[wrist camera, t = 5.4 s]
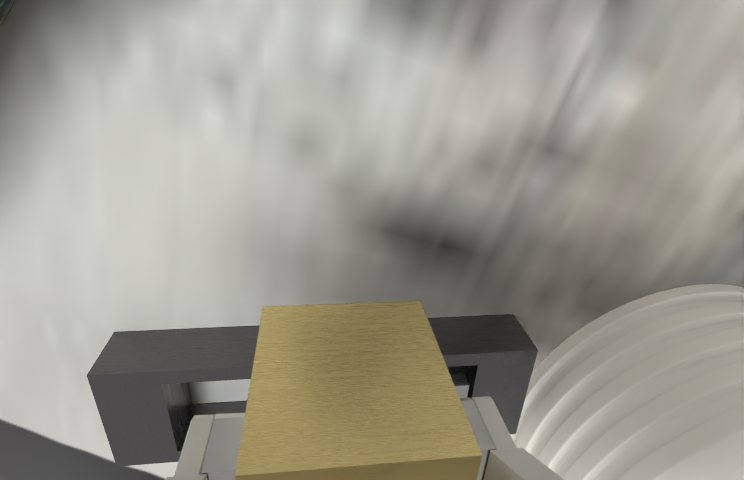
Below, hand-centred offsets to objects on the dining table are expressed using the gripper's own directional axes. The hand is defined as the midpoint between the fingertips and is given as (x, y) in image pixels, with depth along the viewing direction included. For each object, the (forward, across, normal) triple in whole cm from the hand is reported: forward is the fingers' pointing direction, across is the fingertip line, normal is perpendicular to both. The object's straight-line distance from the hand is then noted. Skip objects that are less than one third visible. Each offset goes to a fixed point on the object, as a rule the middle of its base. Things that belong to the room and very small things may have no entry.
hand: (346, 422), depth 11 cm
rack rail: (+17, 0, +14) cm, 22 cm away
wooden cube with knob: (+2, 0, 0) cm, 2 cm away
